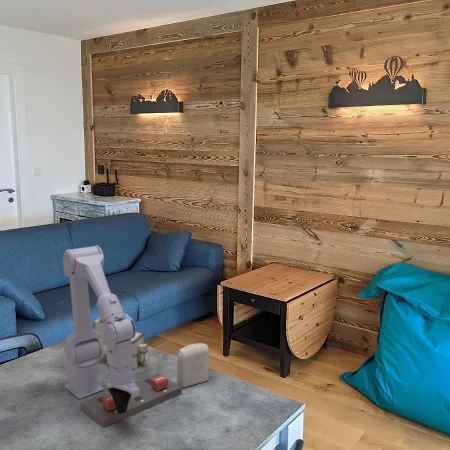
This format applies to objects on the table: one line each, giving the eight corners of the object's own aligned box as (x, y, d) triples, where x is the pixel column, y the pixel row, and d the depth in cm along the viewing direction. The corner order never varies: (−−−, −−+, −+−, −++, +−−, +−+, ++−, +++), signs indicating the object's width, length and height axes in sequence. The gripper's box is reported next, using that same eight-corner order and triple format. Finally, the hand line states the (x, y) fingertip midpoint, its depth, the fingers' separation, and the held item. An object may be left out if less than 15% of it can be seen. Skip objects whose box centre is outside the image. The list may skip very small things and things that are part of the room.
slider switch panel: (81, 409, 135) (81, 402, 134) (157, 378, 152) (157, 372, 152) (103, 427, 126) (103, 420, 126) (181, 393, 144) (181, 386, 143)
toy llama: (141, 371, 157) (140, 313, 154) (94, 363, 162) (92, 306, 159) (151, 362, 164) (150, 305, 161) (106, 354, 169) (104, 299, 166)
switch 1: (102, 406, 132) (102, 398, 131) (115, 401, 134) (115, 393, 134) (108, 411, 130) (108, 402, 129) (121, 405, 132) (121, 397, 132)
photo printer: (203, 375, 155) (204, 338, 153) (210, 380, 152) (211, 343, 150) (175, 383, 150) (175, 346, 148) (181, 389, 146) (181, 351, 144)
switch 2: (151, 387, 143) (151, 379, 142) (162, 382, 145) (162, 374, 145) (157, 390, 140) (157, 382, 140) (168, 386, 143) (168, 378, 143)
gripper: (92, 359, 128) (94, 406, 131) (122, 378, 118) (123, 429, 120) (116, 351, 133) (117, 397, 136) (146, 369, 123) (147, 418, 125)
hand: (121, 411), depth 128 cm, fingers closed
